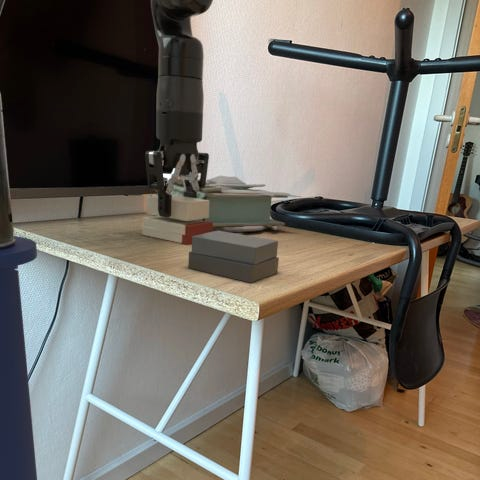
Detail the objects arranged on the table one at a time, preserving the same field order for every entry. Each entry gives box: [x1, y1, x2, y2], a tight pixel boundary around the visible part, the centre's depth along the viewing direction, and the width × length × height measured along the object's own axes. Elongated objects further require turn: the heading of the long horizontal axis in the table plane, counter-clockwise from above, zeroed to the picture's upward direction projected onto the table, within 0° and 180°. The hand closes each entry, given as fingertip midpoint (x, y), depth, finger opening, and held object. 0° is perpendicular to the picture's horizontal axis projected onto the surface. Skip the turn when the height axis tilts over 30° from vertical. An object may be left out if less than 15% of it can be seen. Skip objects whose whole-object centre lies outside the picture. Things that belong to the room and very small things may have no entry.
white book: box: [146, 195, 209, 221], centre depth 84 cm, size 6×9×3 cm, turn 57°
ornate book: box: [149, 175, 302, 233], centre depth 102 cm, size 23×10×30 cm
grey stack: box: [187, 231, 280, 284], centre depth 65 cm, size 7×10×4 cm
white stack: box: [141, 215, 214, 245], centre depth 85 cm, size 7×10×3 cm
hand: (177, 214), depth 84 cm, fingers closed on white book, 6 cm apart
